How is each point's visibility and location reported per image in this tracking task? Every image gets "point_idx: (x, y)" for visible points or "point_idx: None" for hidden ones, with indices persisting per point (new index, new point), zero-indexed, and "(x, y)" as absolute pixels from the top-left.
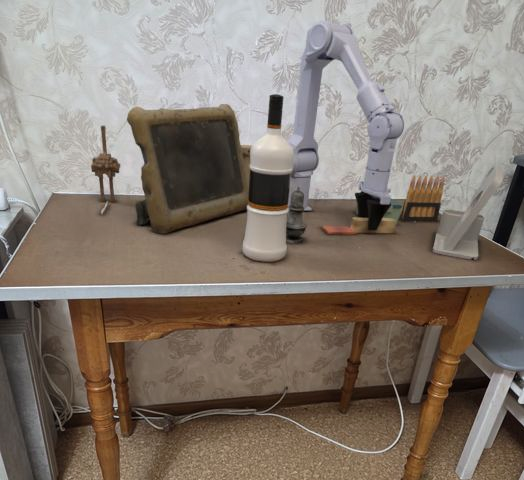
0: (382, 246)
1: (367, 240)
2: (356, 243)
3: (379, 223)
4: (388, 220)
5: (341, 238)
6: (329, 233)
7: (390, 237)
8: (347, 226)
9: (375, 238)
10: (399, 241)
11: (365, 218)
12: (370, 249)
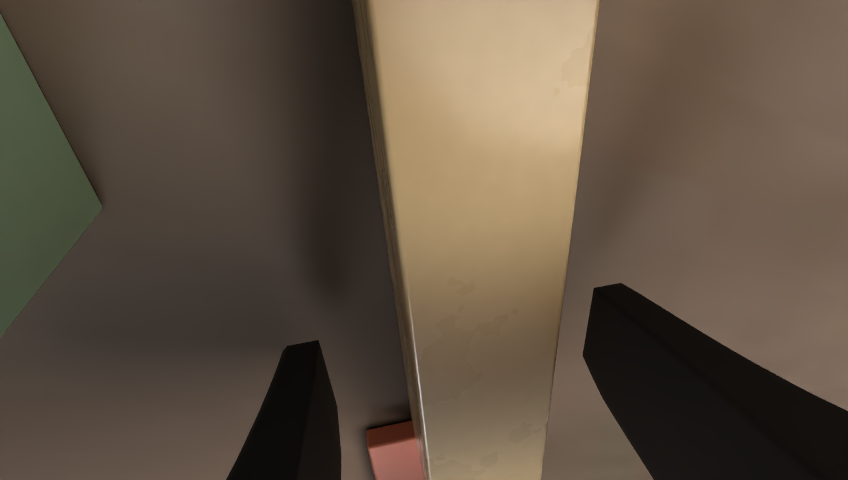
0: (841, 242)
1: None
2: None
3: (696, 332)
4: (571, 161)
5: (603, 459)
6: None
7: (655, 80)
8: (383, 454)
9: (649, 256)
10: (812, 6)
11: (467, 448)
12: (844, 331)
